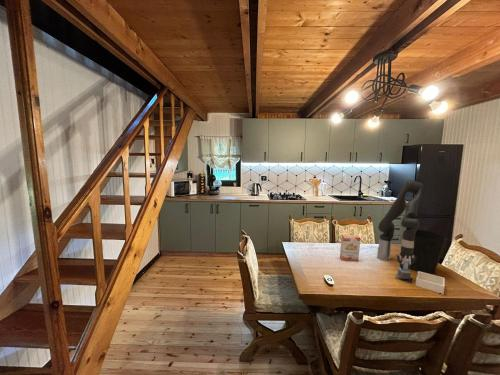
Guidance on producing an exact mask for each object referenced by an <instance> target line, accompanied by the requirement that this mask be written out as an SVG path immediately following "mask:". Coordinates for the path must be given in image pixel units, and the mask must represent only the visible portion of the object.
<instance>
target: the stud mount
mask: <svg viewBox="0 0 500 375" xmlns="http://www.w3.org/2000/svg"><path fill="white" fill-rule="evenodd" d="M394 279H395V280H399V281H401V282H405V283H409V284H412V282H413V279H414V278H413V277H412V276H410V279H402V278H401V277H400V276H398V273H396V275H395V277H394Z"/></svg>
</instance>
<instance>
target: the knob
mask: <svg viewBox="0 0 500 375" xmlns="http://www.w3.org/2000/svg"><path fill="white" fill-rule="evenodd" d="M402 259H403V258H402ZM408 264H409V259H405V261H404V263H403V269H401V268H400V267H398V269H397V274H398V276H400V277H401V278H402V279H410V277H411V273H412V272H411V270H410V269H408Z"/></svg>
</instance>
